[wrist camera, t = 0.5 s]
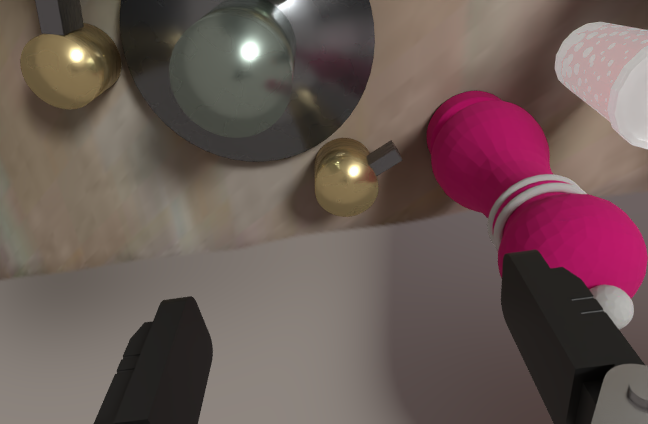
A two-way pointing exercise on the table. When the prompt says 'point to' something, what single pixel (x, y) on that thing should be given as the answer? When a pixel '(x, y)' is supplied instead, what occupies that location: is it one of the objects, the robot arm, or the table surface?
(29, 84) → the brass head mallet
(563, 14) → the table surface
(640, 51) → the beverage cup
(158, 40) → the base
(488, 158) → the pepper mill
